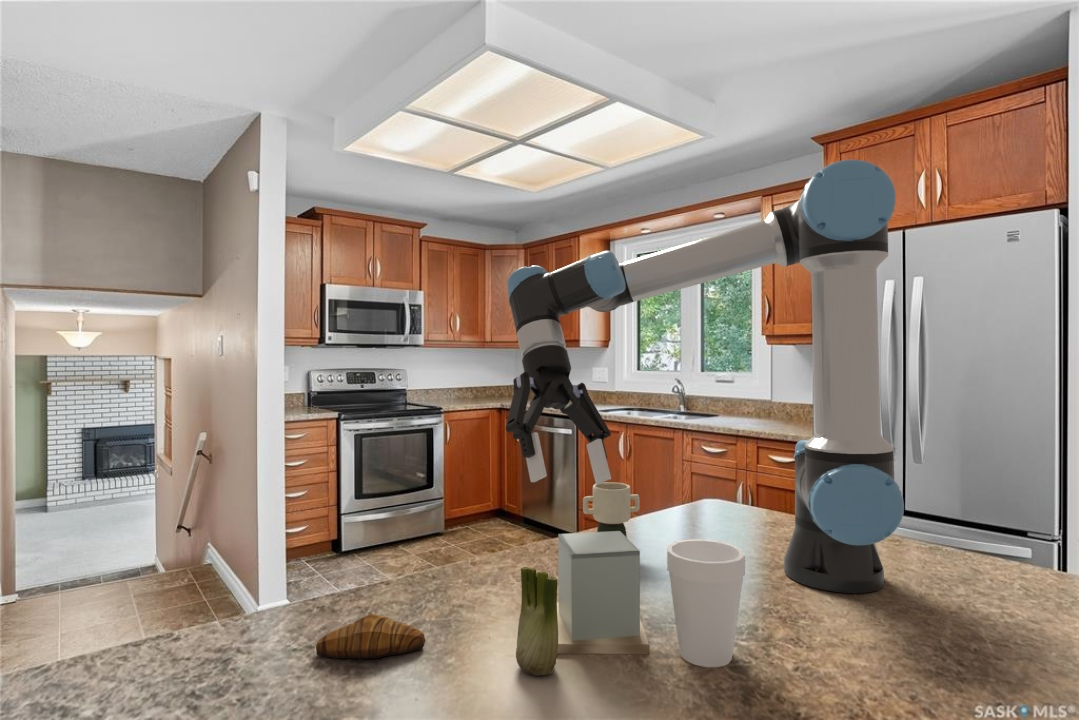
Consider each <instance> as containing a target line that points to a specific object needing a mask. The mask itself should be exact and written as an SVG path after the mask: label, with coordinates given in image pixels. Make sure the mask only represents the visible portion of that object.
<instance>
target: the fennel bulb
mask: <svg viewBox="0 0 1079 720" xmlns="http://www.w3.org/2000/svg"><path fill="white" fill-rule="evenodd" d="M520 580H521V581H520V583H521V584H520V585H521V606H520V611H519V612H520V614H519V618H518V619H519V620H518V627H517V639H516V650H515V660H516V662H517V665H518V667H519V668H520V669H522V671H524V672H526V673H527V674H529V675H532V676H536V677H537V676H547V675H551V674H552V673H553V671H554V669H555V666H556V664H557V659H558V653H557V650H558V618H557V602H558V578H556V577H555V576H549V572H547V571H541V570H539V571H537V569H536V568H534V567H529V566H523V567H521V568H520Z"/></svg>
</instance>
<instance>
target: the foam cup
mask: <svg viewBox="0 0 1079 720" xmlns="http://www.w3.org/2000/svg"><path fill="white" fill-rule="evenodd" d="M666 559H667V560H666V567H667V568H666V570H667V572H668V573H669V581H670V590H671V597H672V605H673V612H674V619H675V627H676V634H677V642H678V650H679V656H680V657H682V658H683V660H685V661H686V662H688V663H690V664H692V665H695V666H699V667H704V668H721V667H724V666H726V665H729V663H730V662H731V661H732V660H733V657H732V656H733V654H734V647H735V646H734V645H735V639H736V632H737V631H736V630H737V624H738V618H739V617H738V616H739V608H740V602H741V593H742V588H743V581H744V577H745V575H746V555H745V552H744V550H743V549H741V548H739V547H738V546H736V545H734V544H731V543H727V542H723V541H720V540H718V541H717V540H710V539H703V538H702V539H683V540H678V541H673V542H670V543H669V544H668V545H666Z"/></svg>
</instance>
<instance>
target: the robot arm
mask: <svg viewBox="0 0 1079 720" xmlns="http://www.w3.org/2000/svg"><path fill="white" fill-rule="evenodd" d="M896 194H897V193H896V189H895V185H894V183H893V181H892V179H891V178H890V176H889V174H888V173H886V172H885V171H884V170H883V169H882V168H880V167H879V166H877V165H875V164H874V163H872V162H869V161H866V160H861V159H843V160H839V161H838V160H837V161H836V162H835V161H834V162H832V163H830V164H828V165H826V166H824V167H822V168H821V169H820V170H819V171H818V172H817V173H815V174H814V175H813V176H812V177H810V179H809V180H808V181H807V182H806V183H805V186H804V187H803V188H802V192H801V196H800V198H799V199H798V200H796V201H795V202H794V203H791V204H789V205H788V206H785V207H783V208H780V209H778V210H773V211H770V212H769V214H768V215H767V217H766V218H765V219H764V220H761V221H758V222H754V223H750V224H747V225H745V226H740V227H736V228H734V229H731V230H728V231H724V232H721V233H717V234H714V235H711V236H707V237H704V238H700V239H697V240H693V241H690V242H686V243H683V244H679V245H677V246H674V247H670V248H667V249H663V250H660V251H657V252H653V253H650V254H647V255H643V256H640V257H637V258H633V259H630V260H627V261H623V262H620V263H619V262H618V259H617V257H616V255H615V254H614V252H612V251H611V250H604V251H601V252H598V253H595V254H590V255H588V256H587V257H585V258H582V259H580V260H577V261H575V262H573V263H571V264H568V265H566V266H564V267H561V268H558V269H557V270H556V269H555V270H554V271H551V272H548V271H547V270H546V269H545V267H542V266H540V265H530V266H522V267H520V268H517V269H516V270H514V271H513V272H512V273H511V274H510V275H509V277H508V279H507V282H506V285H507V295H508V305H509V307H510V310H511V314H512V320H513V324H514V327H515V333H516V338H517V341H518V342H517V343H518V348H519V352H520V355H521V358H522V360H521V362H522V363H521V364H522V368H523V372H522V373H521V374H519V375H518V376H516V377H515V378H513V389H514V390H513V394H512V400H511V403H510V407H509V410H508V411H509V412H508V416H507V420H506V424H505V430H506V432H507V433H512V438H513V439H514V440H516V441H517V440H519V444H520V448H521V453H522V456H523V458H525V460H526V466H527V470H528V476H529V480H530V483H536V482H538V481H540V480H542V479H545V478H546V477H548V475H547V470H546V466H545V460H544V456H543V450H542V446H541V441H540V436H539V433H538V432H533V430H534V429H535V427H536V425H537V422H538V421H539V418H540V417H541V415H542V413H543V411H544V409H551V408H552V409H554V410H557V411H558V410H559V411H560V412H561V413H562V414H564V415H567V417H568V418H569V419H570V421H572V422H573V424H574V426H576V428H577V429H578V430H579V431H580V433H581V434H582V435H583V436H584V438H585V439H586V440H587V441H588V443H586V445H585V446H586V449H587V455H588V458H589V462H590V466H591V470H592V473H593V474H592V475H593V478H594V481H595V483H594V484H601V483H604V482H607V481H609V480H612V476H611V472H610V467H609V465H608V455H607V451H606V447H605V443H604V440H605V439H607V438H609V437H611V436H612V433H611V430H610V429H609V427H608V425H607V424H606V422H605V420H604V419H603V417H602V416H601V414H600V412H599V410H598V409H597V406H596V405H595V404H594V402H593V400H592V398H591V397H590V395H589V392H588V389H587V387H586V384H585V383H584V382H579V383H578V384H573V383H572V381H571V380H570V373H571V371H572V365H571V362H570V357H569V353H568V350H567V349H566V348H567V347H566V346H567V343H566V341H565V337H564V332H563V329H562V328H563V327H562V325H561V321H560V317H563V316H565V315H569V314H570V313H573V312H574V313H575V312H577V311H580V310H582V309H585V308H591V310H594V311H596V312H600V313H606V312H610V311H611V312H612V311H615V310H616V309H617V308H619V307H621V306H625V305H629V304H631V303H634V302H635V303H636V302H639V301H642V300H645V299H649V298H653V297H657V296H660V295H663V294H667V293H670V292H675V291H678V290H682V289H685V288H690V287H693V286H697V285H700V284H704V283H707V282H711V281H716V280H719V279H723V278H727V277H729V276H733V275H737V274H740V273H744V272H747V271H751V270H755V269H758V268H763V267H767V266H770V265H773V264H778V265H779V266H781V267H783V268H784V267H789V266H792V265H795V264H800V265H801V266H802V267H803V268H804V269H806V270H807V271H808V273H810V280H811V281H810V282H811V285H810V286H811V315H812V319H811V320H812V321H811V322H812V353H813V390H814V391H813V394H814V398H813V399H814V428H815V430H814V431H815V433H814V435H813V436H812V437H811V438H809V439H801V440H798V441H797V443H796V444H795V447H794V448H795V449H794V455H793V460H794V474H795V475H794V479H795V480H794V515H795V516H794V520H795V521H794V529H793V532H792V535H791V538H790V541H789V544H788V546H787V549H786V552H785V554H784V558H783V561H784V562H783V571H784V573H785V575H786V576H787V577H788V578H790V579H792V580H793V581H794V582H797V583H799V584H802V585H804V586H808V587H811V588H814V589H819V590H822V591H829V592H833V593H843V594H865V593H873V592H877V591H879V590H881V589H882V588H883V587H884V585H885V570H884V567H883V564H882V561H881V558H880V554H879V552H878V549H877V547H876V544H877V543H880V542H881V541H884V540H885V539H887V538H888V537H890V536H891V535H892V534H893V533H894V532H895V531H896V530H897V529H898V527H899V526H900V525H901V522H902V520H903V516H904V510H905V503H904V497H903V494H902V491H901V490H900V486H899V484H898V483H897V482H896V481H895V458H894V457H895V455H894V446H893V445H892V444H891V443H890V442H888V441H887V440H886V439H885V438H884V436H882V433H881V432H882V431H881V430H882V426H881V395H880V394H881V391H880V390H881V389H880V386H881V385H880V355H879V354H880V353H879V352H880V350H879V320H878V318H879V316H878V314H879V313H878V281H877V280H878V278H877V275H878V274H877V269H878V267H879V266H880V265H881V264H882V263H883V262H884V261H885V260H886V259H887V258H888V257H889V225H888V224H889V221H891V219H892V217H893V213H894V212H895V208H896V207H895V206H896V202H897V201H896V200H897V197H896V196H897V195H896ZM530 392H532V393H533V397H532V398H531V401H530V403H529V407H528V408H527V406H528V402H529V397H530ZM570 402H571V403H570Z"/></svg>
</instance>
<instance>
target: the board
mask: <svg viewBox="0 0 1079 720" xmlns="http://www.w3.org/2000/svg"><path fill="white" fill-rule="evenodd" d="M557 618H558V650H557V654H577V655H579V654H585V655H587V654H588V655H591V654H593V655H594V654H596V655H597V654H600V655H601V654H602V655H604V654H606V655H610V654H612V655H614V654H615V655H617V654H618V655H649V654H650V642H649V640H648V637H647V634H646V631H645V628H644V625H643V622H642V619H641V618H640V636H631V637H618V638H605V639H592V640H579V641H571V638H570V636H569V634H568V632H567V629H566V627H565V625H564V623H563V620H562V618H561V616H560V614H559V601H557Z"/></svg>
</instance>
